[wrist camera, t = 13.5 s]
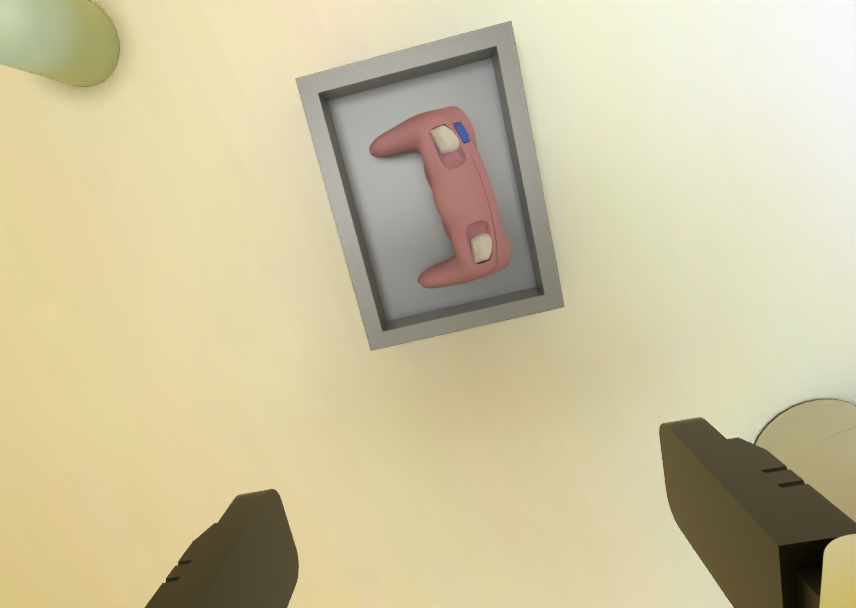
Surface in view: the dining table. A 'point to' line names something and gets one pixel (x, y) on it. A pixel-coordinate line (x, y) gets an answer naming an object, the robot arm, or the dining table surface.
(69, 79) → the sage cylinder
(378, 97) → the charcoal tray
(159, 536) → the dining table surface
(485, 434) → the dining table surface
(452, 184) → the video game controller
